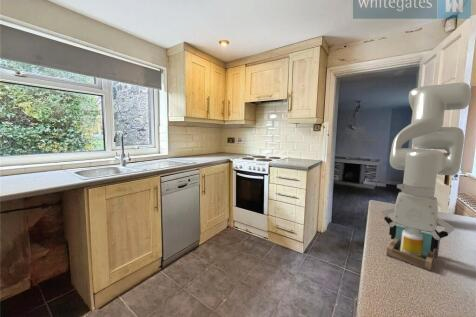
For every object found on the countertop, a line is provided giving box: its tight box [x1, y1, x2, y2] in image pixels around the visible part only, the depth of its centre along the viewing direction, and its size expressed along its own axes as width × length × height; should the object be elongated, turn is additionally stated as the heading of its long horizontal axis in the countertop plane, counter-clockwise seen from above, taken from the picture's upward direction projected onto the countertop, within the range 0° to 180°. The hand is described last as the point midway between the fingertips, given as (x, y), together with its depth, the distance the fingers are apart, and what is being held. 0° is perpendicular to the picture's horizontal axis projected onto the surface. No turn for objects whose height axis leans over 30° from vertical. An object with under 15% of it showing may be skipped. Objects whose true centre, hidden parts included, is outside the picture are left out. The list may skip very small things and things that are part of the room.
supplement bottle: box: [400, 226, 424, 258], centre depth 66 cm, size 5×5×10 cm
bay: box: [386, 238, 435, 272], centre depth 67 cm, size 10×10×2 cm
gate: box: [392, 224, 441, 259], centre depth 70 cm, size 1×12×7 cm, turn 44°
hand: (411, 243), depth 66 cm, fingers open, 9 cm apart
